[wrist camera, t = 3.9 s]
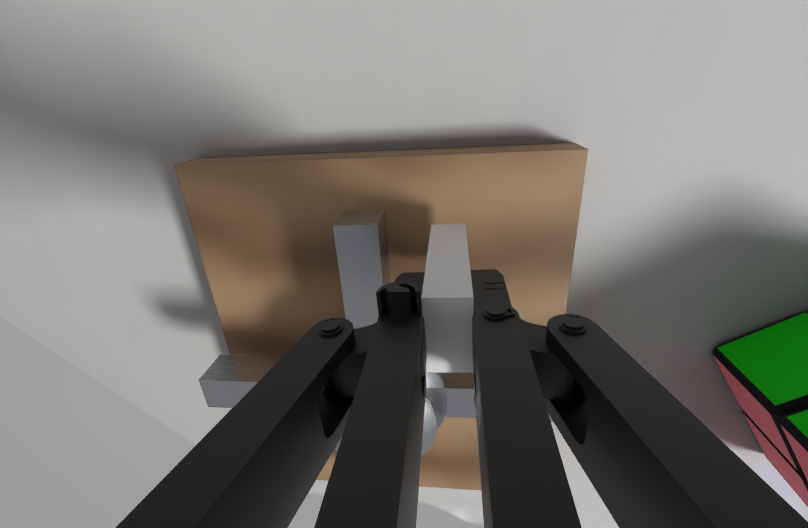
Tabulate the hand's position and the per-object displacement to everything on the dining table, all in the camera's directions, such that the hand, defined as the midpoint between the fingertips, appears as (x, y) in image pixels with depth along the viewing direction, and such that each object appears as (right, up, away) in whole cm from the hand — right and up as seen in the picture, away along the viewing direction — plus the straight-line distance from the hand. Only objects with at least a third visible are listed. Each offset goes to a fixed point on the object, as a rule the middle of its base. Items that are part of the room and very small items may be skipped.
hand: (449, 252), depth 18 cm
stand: (-3, -5, +6) cm, 9 cm away
